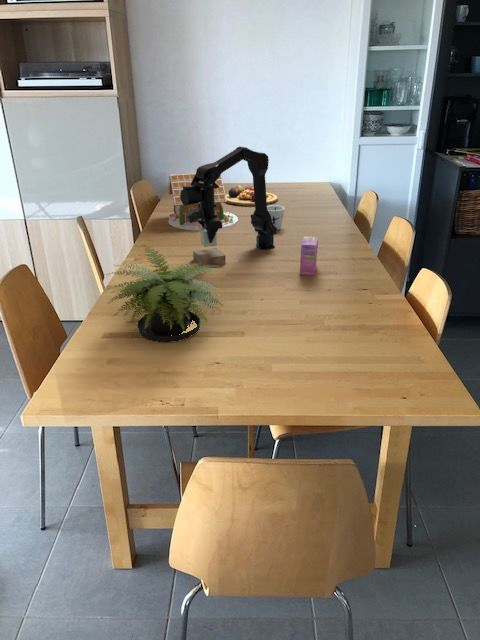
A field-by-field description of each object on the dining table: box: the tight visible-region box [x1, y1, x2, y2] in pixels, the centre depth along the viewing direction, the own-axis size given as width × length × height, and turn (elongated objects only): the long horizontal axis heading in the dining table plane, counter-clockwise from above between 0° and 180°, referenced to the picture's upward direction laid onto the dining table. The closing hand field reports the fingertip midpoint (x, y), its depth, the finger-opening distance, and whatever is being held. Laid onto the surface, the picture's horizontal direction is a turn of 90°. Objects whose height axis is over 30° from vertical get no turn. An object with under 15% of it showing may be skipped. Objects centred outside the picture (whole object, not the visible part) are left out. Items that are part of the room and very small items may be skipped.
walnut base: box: [192, 247, 227, 268], centre depth 208 cm, size 10×10×4 cm
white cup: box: [267, 204, 286, 231], centre depth 249 cm, size 10×15×10 cm
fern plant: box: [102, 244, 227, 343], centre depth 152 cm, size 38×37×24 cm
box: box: [299, 235, 319, 276], centre depth 197 cm, size 10×6×12 cm, turn 168°
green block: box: [199, 228, 218, 248], centre depth 204 cm, size 5×5×6 cm
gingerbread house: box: [167, 172, 239, 231], centre depth 258 cm, size 35×35×24 cm
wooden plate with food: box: [225, 184, 279, 207], centre depth 300 cm, size 32×32×8 cm
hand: (208, 240), depth 205 cm, fingers closed on green block, 5 cm apart
